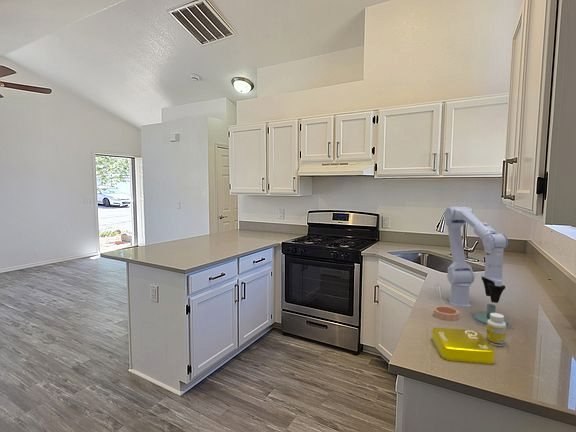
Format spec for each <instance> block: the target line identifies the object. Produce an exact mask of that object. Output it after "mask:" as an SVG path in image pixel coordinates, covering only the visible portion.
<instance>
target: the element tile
mask: <svg viewBox="0 0 576 432" xmlns="http://www.w3.org/2000/svg"><path fill="white" fill-rule="evenodd" d="M431 331H432V332H431V341H432V343H433V344H434V346H435V348H436V350H437V352H438V354H439V355H440V357H441V358H442V359H443V360H446V361H450V362H463V363H472V364H474V363H475V364H485V365H493V364H494V363H495V352H496V351H495V349H494V348H493V346H492V344H490V343H488V341H487V339H485V338H484V336H483V335H482V334H481V333H480V332H479V331H477V330H473V329H461V328H460V329H459V328H444V327H433V328H432V330H431Z"/></svg>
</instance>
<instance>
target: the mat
mask: <svg viewBox="0 0 576 432" xmlns="http://www.w3.org/2000/svg"><path fill="white" fill-rule="evenodd" d="M476 313H477V312H470V315H471V317H472V319H473V321H474V322H475V323H476V325H477V326H478V325H479V326H486V327H487V324H484V323H481V322H479V321H477V320H476V319H475V318H474V316H475V314H476ZM504 318H506V317H505V316H504ZM506 329H511V330H514V329H515V328H514V327H513V325H511V324H510V322H509V321H508V324H507V325H506Z"/></svg>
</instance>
